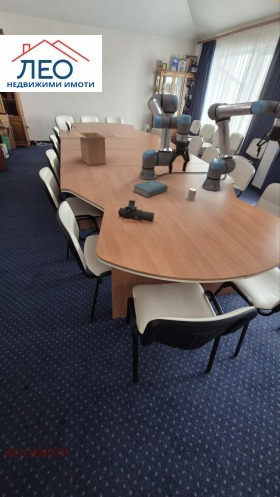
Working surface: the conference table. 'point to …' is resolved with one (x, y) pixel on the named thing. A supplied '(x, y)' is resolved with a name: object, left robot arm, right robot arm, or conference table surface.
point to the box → (92, 146)
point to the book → (150, 188)
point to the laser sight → (135, 213)
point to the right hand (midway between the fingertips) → (266, 158)
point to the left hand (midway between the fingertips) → (176, 172)
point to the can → (191, 194)
